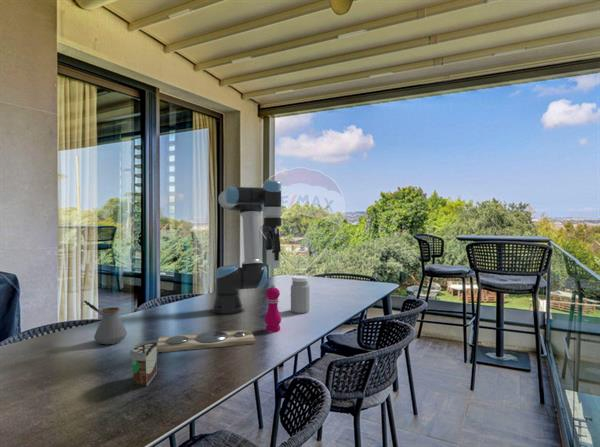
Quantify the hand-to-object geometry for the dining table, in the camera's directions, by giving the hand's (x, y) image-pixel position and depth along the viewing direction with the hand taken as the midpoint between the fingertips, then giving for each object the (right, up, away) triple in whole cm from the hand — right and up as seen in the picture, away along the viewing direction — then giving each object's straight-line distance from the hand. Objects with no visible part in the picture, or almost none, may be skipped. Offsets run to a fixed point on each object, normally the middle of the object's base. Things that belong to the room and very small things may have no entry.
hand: (272, 266), depth 160 cm
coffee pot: (-67, -28, -12) cm, 74 cm away
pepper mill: (0, -28, +1) cm, 28 cm away
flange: (-35, -26, -18) cm, 48 cm away
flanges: (-19, -26, -13) cm, 35 cm away
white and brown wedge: (-36, -29, -48) cm, 67 cm away
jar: (+12, -27, +32) cm, 44 cm away
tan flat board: (-25, -28, -15) cm, 40 cm away
